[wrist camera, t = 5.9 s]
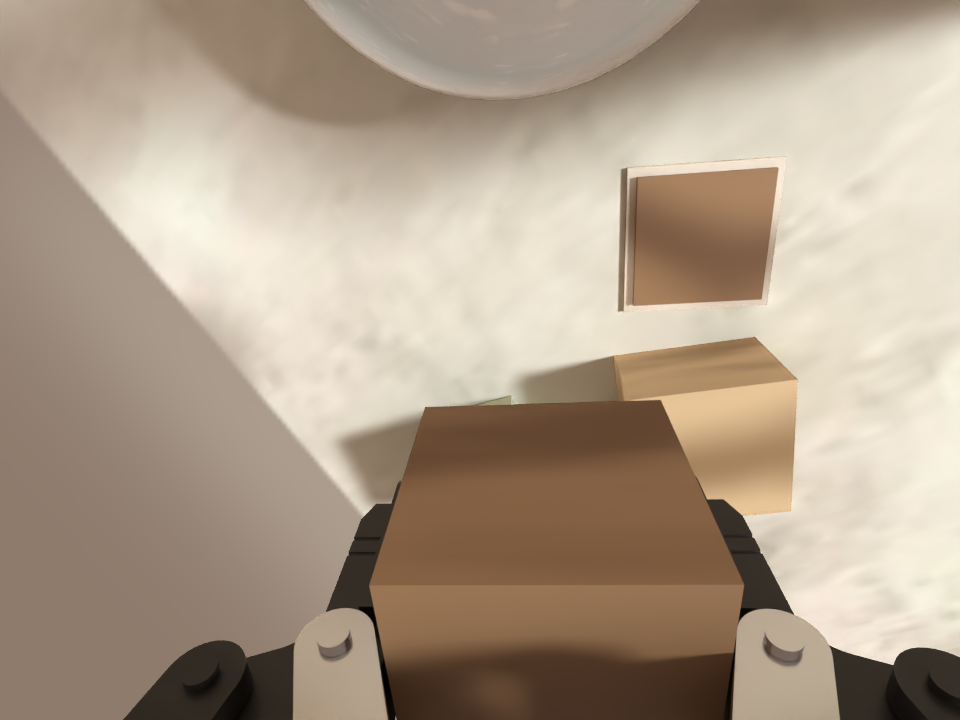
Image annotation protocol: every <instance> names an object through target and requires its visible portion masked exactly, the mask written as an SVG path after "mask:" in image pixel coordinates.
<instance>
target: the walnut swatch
mask: <svg viewBox="0 0 960 720" xmlns="http://www.w3.org/2000/svg"><path fill="white" fill-rule="evenodd" d="M786 158H787V157H785V156H783V157H769V158H756V159H742V160H728V161H714V162H701V163H687V164H673V165H660V166H646V167H632V168H627V192H626V230H625V268H624V306H623V311H624V312H636V311H656V310H676V309H695V308H715V307H735V306H754V305H767V300H768V293H769V285H770V278H771V270H772V263H773V255H774V248H775V240H776V233H777V226H778V218H779V211H780V203H781V196H782V188H783V181H784V173H785V166H786Z"/></svg>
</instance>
